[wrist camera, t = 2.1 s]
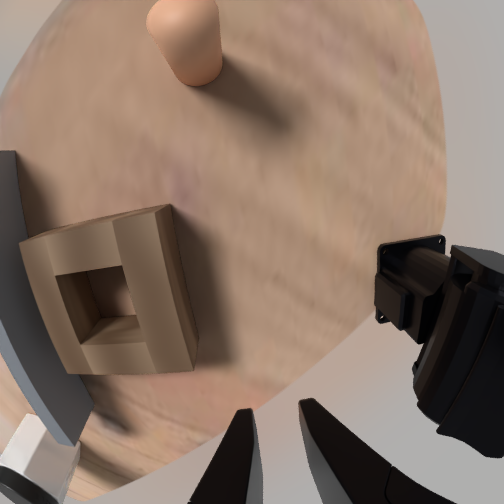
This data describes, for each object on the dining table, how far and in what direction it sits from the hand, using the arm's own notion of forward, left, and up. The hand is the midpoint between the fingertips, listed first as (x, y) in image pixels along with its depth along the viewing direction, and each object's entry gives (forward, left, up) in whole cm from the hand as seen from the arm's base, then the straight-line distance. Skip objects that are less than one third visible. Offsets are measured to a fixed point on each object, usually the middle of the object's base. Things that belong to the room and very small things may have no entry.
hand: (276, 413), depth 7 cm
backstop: (+18, 0, -13) cm, 22 cm away
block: (+9, 0, -13) cm, 16 cm away
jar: (+27, +19, -13) cm, 36 cm away
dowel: (+1, -14, -13) cm, 19 cm away
